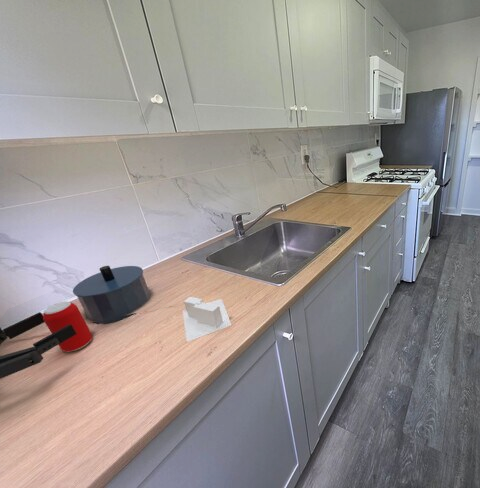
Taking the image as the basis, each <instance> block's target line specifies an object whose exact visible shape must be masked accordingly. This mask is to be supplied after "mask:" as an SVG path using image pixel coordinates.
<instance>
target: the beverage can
mask: <svg viewBox="0 0 480 488" xmlns="http://www.w3.org/2000/svg"><path fill="white" fill-rule="evenodd" d="M42 315H43V320H44V323H45V325H46V327H47V328H48V330H49V332H50V334H52V333H54V332H56V331H58V330H60V329H62V328H64V327H65V326H67V325H69V324H71V325H72V326H73V328H74V330H75V332H76V335H74V336H73V337H71V338H69V339H67V340H66V341H64V342H62V343H60V344H59V345H58V347H59V349H60V350H61V351H62V352H68V353H69V352H74V351H78V350H80V349H82V348H84V347H86V346H87V345H88V344H89V343H90V342H91V341H92V339H93V334H92V332H91V330H90V328H89V326H88V325H87V323H86V321H85V319H84V317H83V315H82V313H81V311H80V309H79V307H78V305H76V304H75V303H73V302H71V301H61V302H57V303H53V304H52V305H50V306H48V307H46V309H45V310H44V311H43V313H42Z"/></svg>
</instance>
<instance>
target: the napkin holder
mask: <svg viewBox="0 0 480 488" xmlns="http://www.w3.org/2000/svg"><path fill="white" fill-rule="evenodd" d="M183 304H184V308H185V309H184V310H182V317H183V324H184V333H185V341H186V343H188V342H190V341H193V340H196V339H198V338H201V337H203V336H206V335H209V334H212V333H214V332H217V331H221V330H223V329H226V328H229V327H230V326H232V322H231V319H230V318H229V314H228V312H227V309H226V306H225V304H224V301H223V298H222V297H221V298H218V299H215V300H213V301H209V302H204V300H203V299H202V298H199V297H194V296H189V297H188V298H186V299H185V300H183Z"/></svg>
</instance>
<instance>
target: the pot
mask: <svg viewBox="0 0 480 488" xmlns="http://www.w3.org/2000/svg"><path fill="white" fill-rule="evenodd" d="M76 297H77V299H78V302H79V303H80V305H81V307H82V308H83V311H84V313H85V315H86V317H87V318H88V319H90V320H91V321H94V322H92V323H93V324H96V325H107V324H112V323H116V322H120V321H123V320H125V319H128V318H130V317H132V316H134V315H136V314H137V312H135V311H136V310H137V309H140V308H141V307H143V306H144V305H145V304H146V303H148V301H149V299H150V297H151V293H150V290H149V288H148V285H147V283H146V280H145V277H144V273H143V274H142V276H141V277H140V278H139V279H138V280H136V281H135V282H133V283H132V284H130V285H128V286H126V287H124V288H122V289H119V290H117V291H114V292H111V293H108V294H104V295H100V296H94V297H78V296H76ZM133 312H134V313H133Z"/></svg>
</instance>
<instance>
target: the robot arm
mask: <svg viewBox="0 0 480 488" xmlns="http://www.w3.org/2000/svg"><path fill="white" fill-rule="evenodd" d="M44 323H45V322H44V320H43V313H42V312H40V311H39V312H36V313H35V314H32V315H30V316H27V317H26V318H24V319H22V320H19V321H17V322H15V323H13V324H11V325H8V326H7V327H5V328H3V329H2V327H0V345H2V344H3V343H4V342H6V341H7V339H9V340H12V339H14V338H16V337H18V336H20V335H22V334H24V333H26V332H28V331H30V330H32V329H34V328H36V327H38V326H40V325H42V324H44ZM74 335H76V332H75V330H74V328H73V326H72V325H71V324H69V325H67V326H65V327H64V328H62V329H60V330H58V331H56V332H54V333H50V334H48V335H47V336H45V337H43V338H41V339H39V340H38V341H36V342H34V343H32V346H31V347H27V348H24V349H21V350H17V351H14V352H9V353H6V354H2V355H0V380H1V379H4V378H6V377H9V376H11V375H13V374H16V373H18V372H20V371H23V370H26V369H28V368H31V367H33V366H35V365H38V364H39V363H41V362H43V360H44V356H43V354H45V353H46V352H49V351H50V350H52V349H53V348H55V347H57V346H59V344H60V343H62V342H64V341H66V340H67V339H69V338H71V337H73V336H74Z"/></svg>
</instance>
